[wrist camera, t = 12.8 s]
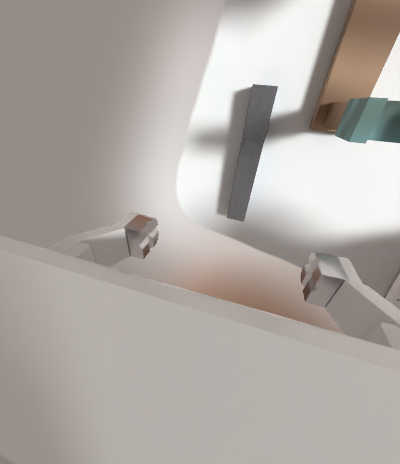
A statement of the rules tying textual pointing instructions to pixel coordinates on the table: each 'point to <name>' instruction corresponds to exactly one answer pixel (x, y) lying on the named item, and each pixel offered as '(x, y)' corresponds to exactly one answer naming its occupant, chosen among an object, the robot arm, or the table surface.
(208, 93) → the table surface
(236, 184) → the rail
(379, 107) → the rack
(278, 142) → the table surface
